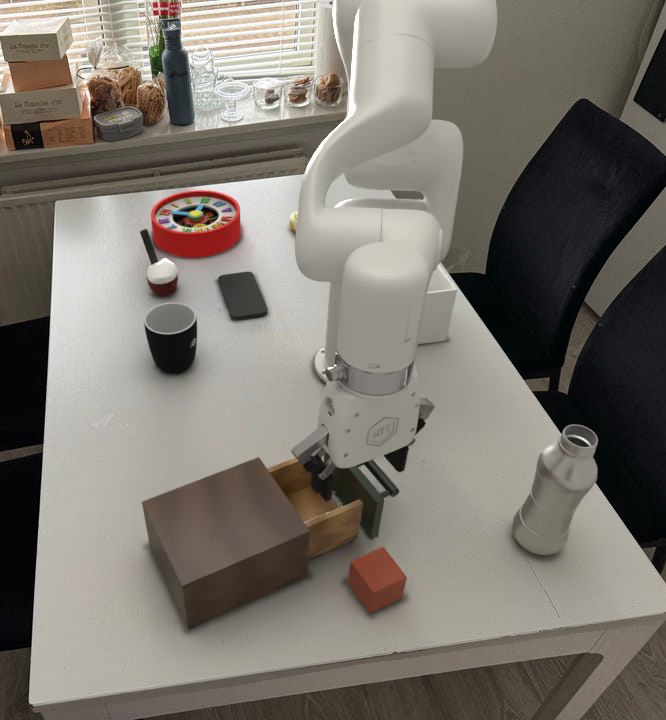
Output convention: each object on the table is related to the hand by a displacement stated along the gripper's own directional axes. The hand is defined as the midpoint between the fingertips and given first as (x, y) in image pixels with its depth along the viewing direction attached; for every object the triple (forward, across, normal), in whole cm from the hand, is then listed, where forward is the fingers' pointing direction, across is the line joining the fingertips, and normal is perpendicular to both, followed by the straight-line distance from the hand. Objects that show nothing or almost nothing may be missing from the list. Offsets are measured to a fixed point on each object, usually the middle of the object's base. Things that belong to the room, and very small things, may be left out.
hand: (358, 477), depth 79 cm
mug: (+16, -4, +49) cm, 52 cm away
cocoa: (+16, +1, +70) cm, 72 cm away
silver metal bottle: (+17, +24, -8) cm, 30 cm away
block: (+17, +1, -5) cm, 18 cm away
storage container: (+16, +39, +45) cm, 61 cm away
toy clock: (+16, +16, +87) cm, 90 cm away
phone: (+16, +14, +60) cm, 64 cm away
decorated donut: (+16, +40, +77) cm, 88 cm away
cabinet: (+17, -14, +7) cm, 23 cm away
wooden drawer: (+16, 0, +7) cm, 17 cm away
